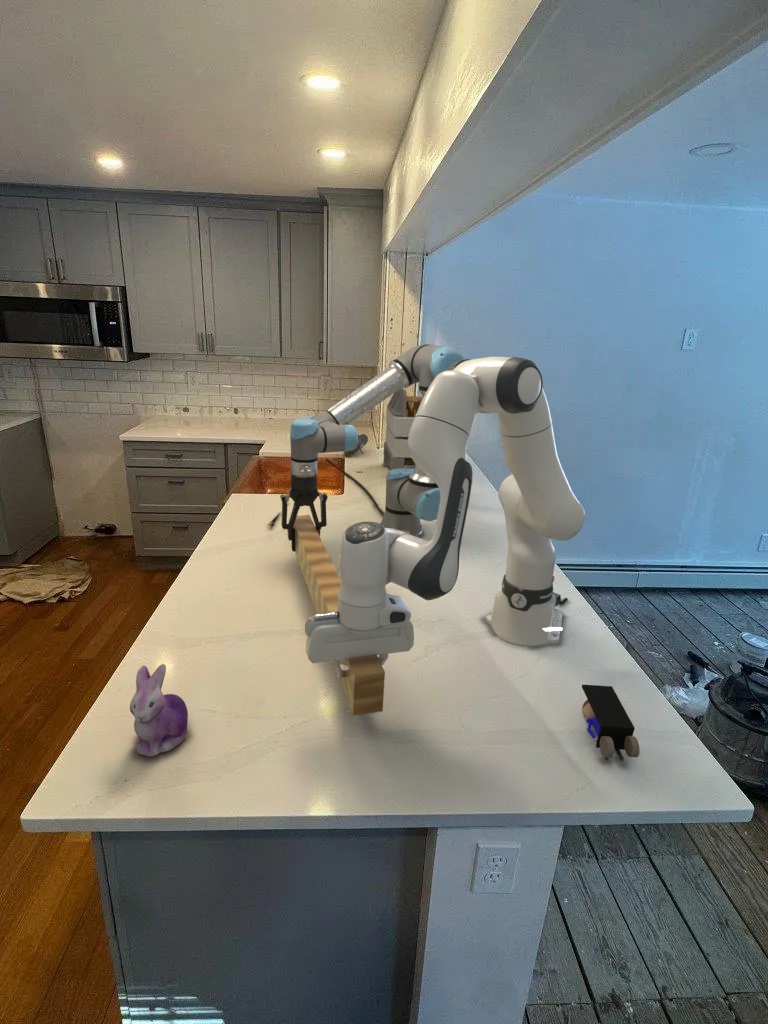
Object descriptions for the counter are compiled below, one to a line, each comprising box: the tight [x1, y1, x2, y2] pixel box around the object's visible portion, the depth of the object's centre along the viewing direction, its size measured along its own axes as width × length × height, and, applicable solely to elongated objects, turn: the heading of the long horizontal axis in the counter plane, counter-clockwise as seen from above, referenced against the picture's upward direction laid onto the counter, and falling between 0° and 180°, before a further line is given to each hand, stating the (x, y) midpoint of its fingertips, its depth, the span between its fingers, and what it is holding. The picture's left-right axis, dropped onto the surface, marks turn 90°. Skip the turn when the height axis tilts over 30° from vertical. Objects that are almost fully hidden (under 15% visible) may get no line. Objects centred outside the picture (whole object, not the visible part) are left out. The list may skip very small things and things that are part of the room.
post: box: [290, 514, 386, 717], centre depth 138 cm, size 81×6×9 cm, turn 17°
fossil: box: [343, 433, 369, 458], centre depth 305 cm, size 22×10×15 cm
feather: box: [266, 512, 281, 529], centre depth 211 cm, size 2×28×2 cm
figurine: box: [129, 663, 189, 757], centre depth 99 cm, size 9×10×15 cm
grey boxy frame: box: [383, 388, 423, 471], centre depth 268 cm, size 34×33×41 cm
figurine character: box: [581, 684, 641, 762], centre depth 105 cm, size 7×8×15 cm
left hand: (304, 548), depth 169 cm, fingers closed on post, 6 cm apart
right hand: (359, 673), depth 108 cm, fingers closed on post, 5 cm apart
